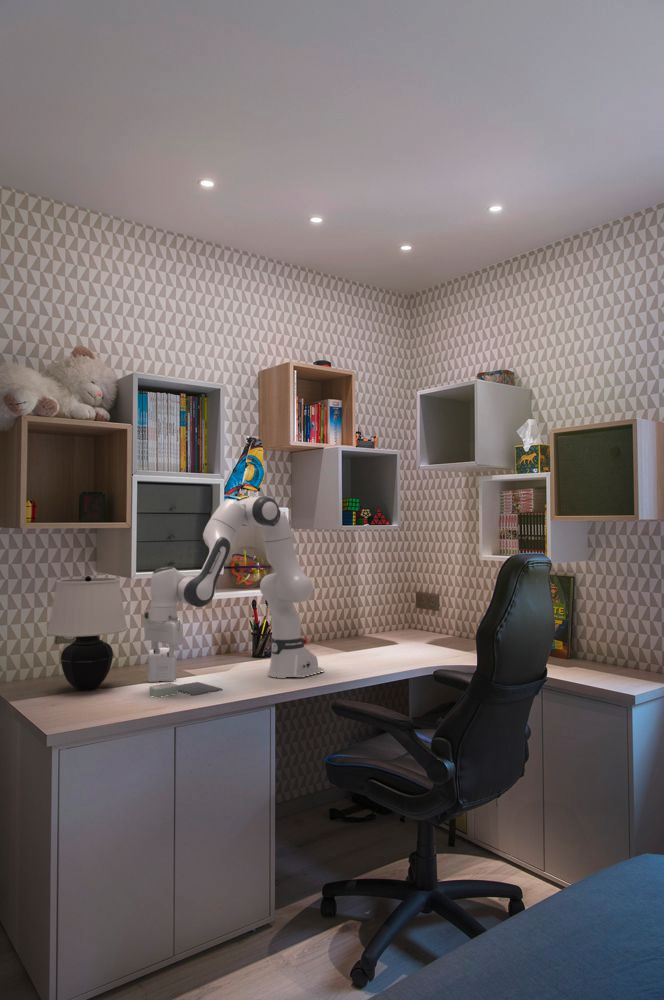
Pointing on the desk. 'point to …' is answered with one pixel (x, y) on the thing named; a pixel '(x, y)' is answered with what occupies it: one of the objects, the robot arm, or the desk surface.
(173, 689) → the card box
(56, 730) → the desk surface
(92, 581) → the table lamp
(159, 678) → the white upright rounded block
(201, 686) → the desk mat
